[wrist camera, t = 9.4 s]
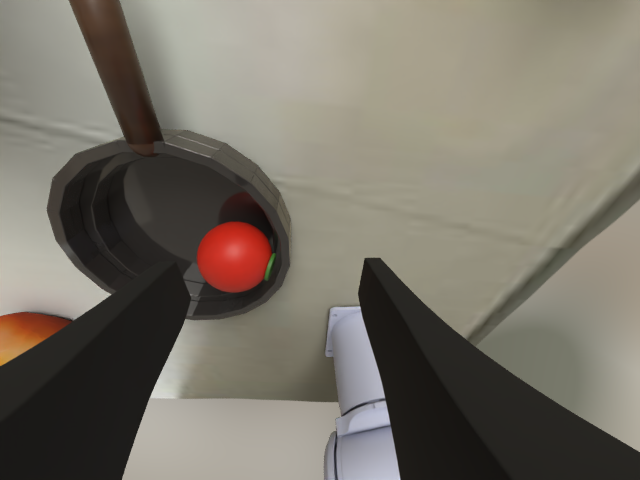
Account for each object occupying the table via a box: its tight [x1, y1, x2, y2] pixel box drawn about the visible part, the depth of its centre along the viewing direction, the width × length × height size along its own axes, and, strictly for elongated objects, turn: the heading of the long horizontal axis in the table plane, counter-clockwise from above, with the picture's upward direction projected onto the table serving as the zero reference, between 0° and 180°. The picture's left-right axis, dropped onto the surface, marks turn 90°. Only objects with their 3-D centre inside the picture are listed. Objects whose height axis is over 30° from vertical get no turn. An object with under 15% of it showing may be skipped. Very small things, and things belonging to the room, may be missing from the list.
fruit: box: [0, 312, 73, 366], centre depth 22 cm, size 8×8×8 cm
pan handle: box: [69, 0, 163, 157], centre depth 10 cm, size 10×2×2 cm, turn 177°
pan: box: [47, 129, 291, 320], centre depth 17 cm, size 14×14×4 cm
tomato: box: [197, 222, 276, 293], centre depth 17 cm, size 5×5×5 cm
